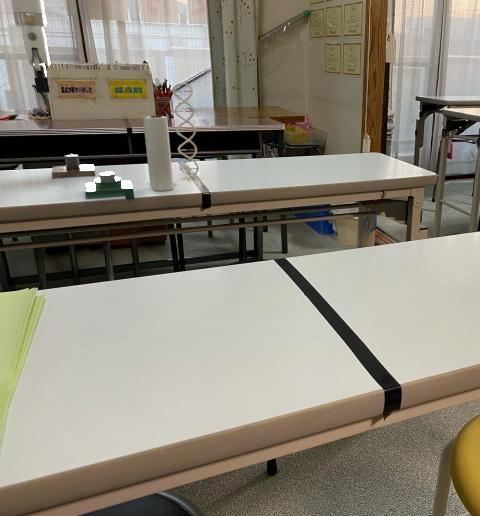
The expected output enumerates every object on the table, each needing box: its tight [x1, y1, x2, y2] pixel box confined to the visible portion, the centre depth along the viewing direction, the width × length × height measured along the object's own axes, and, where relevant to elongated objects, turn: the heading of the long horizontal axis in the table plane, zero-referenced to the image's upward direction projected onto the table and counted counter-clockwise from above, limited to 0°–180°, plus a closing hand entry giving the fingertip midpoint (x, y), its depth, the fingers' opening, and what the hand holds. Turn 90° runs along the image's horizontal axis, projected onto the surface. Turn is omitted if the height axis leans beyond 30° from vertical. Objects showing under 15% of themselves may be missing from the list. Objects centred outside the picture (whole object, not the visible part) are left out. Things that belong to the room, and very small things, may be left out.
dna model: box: [171, 82, 200, 182], centre depth 164 cm, size 7×6×30 cm
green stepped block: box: [84, 176, 135, 201], centre depth 144 cm, size 12×10×5 cm
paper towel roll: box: [142, 115, 175, 192], centre depth 152 cm, size 7×6×21 cm
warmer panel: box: [51, 163, 96, 179], centre depth 166 cm, size 12×10×3 cm
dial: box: [64, 153, 81, 169], centre depth 165 cm, size 4×4×4 cm
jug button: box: [98, 171, 116, 181], centre depth 143 cm, size 4×4×2 cm
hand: (43, 92), depth 145 cm, fingers closed
